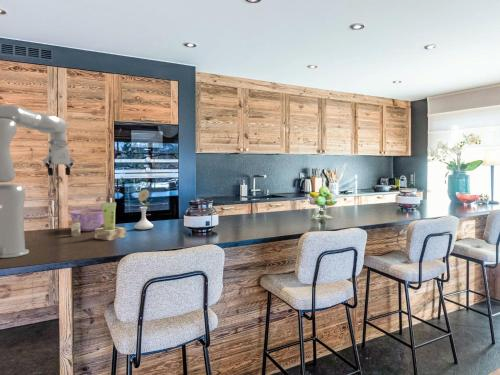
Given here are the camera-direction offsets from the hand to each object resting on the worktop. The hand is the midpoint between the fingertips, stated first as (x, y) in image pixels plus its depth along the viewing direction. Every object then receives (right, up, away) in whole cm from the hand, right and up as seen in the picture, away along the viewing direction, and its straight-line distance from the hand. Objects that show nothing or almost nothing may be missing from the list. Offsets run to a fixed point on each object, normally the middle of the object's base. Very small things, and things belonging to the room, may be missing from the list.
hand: (59, 175), depth 195 cm
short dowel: (+6, -34, +5) cm, 35 cm away
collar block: (+28, -34, +1) cm, 44 cm away
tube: (+27, -35, +1) cm, 44 cm away
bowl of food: (+5, -33, +23) cm, 41 cm away
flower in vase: (+39, -33, +26) cm, 57 cm away
